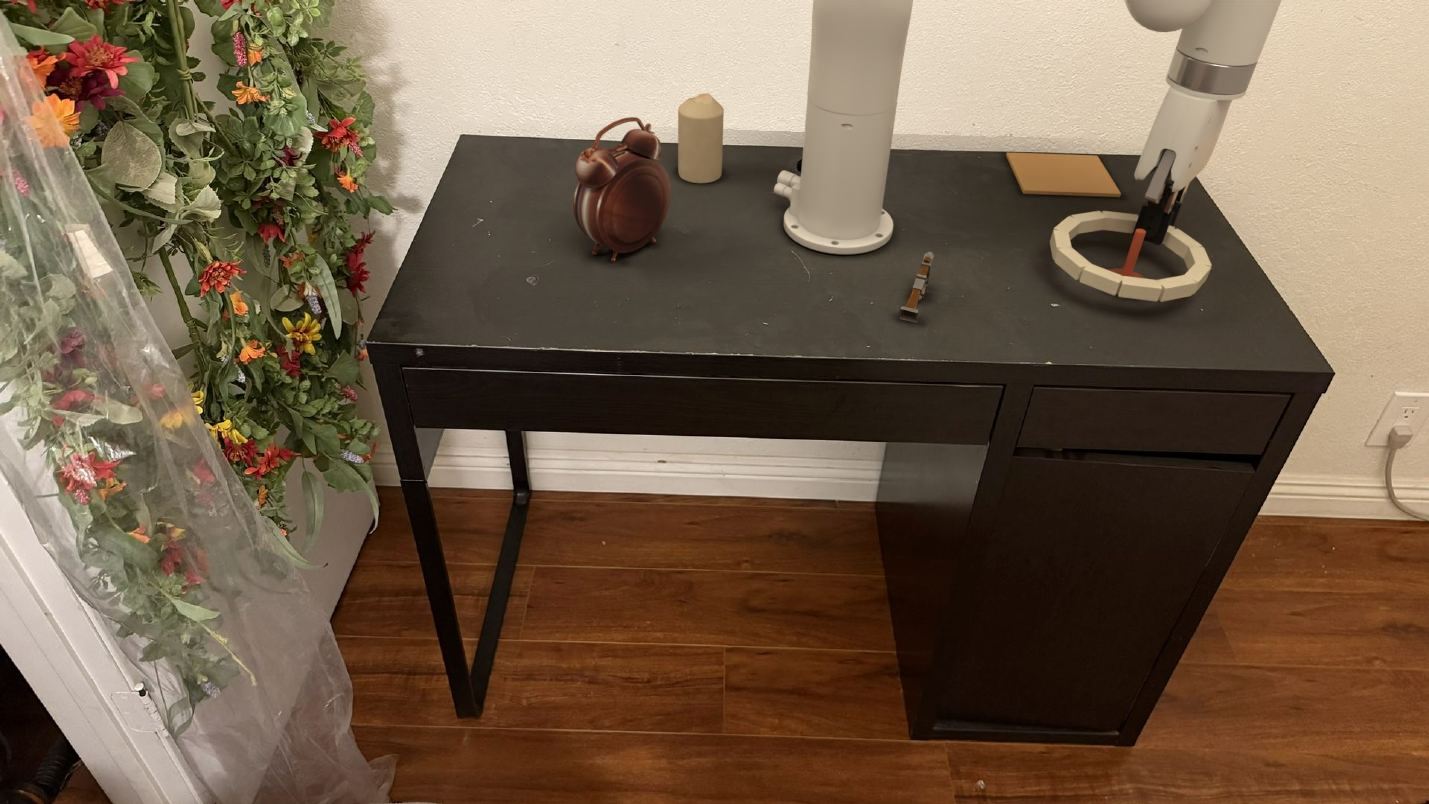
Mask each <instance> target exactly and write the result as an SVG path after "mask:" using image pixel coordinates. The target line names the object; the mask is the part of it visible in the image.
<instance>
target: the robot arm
mask: <svg viewBox="0 0 1429 804" xmlns="http://www.w3.org/2000/svg"><path fill="white" fill-rule="evenodd" d="M1123 2H1124V4H1125V6H1126V8H1127V10H1128V13H1129V15H1130V16H1131V17H1132V18H1133V20H1134V21H1135V22H1136V23H1137V24H1138V25H1140V26H1141V27H1143V28H1144V29H1147V30H1149V31H1152V32H1156V33H1170V32H1177V31H1179V30H1181V31H1180V34H1179V38H1178V40H1177V43H1176V46H1175V49H1174V52H1173V55H1172V58H1171V61H1170V64H1169V68H1168V70H1167V73H1166V76H1165V81H1166V84H1167V85H1169V89H1168V90H1167V93H1166V94H1165V96H1164V98H1163V101H1162V103H1161V105H1160V107H1159V109H1158V112H1157V114H1156V117H1155V119H1154V121H1153V123H1152V125H1151V129H1150V131H1149V134H1148V137H1147V139H1146V141H1145V143H1144V147H1143V149H1142V152H1141V155H1140V156H1139V160H1138V162H1137V165H1136V168H1135V171H1134V173H1133V176H1134V179H1135V180H1136V181H1138V182H1139V181H1144V180H1145V179H1146V178H1148V177H1149V175H1151V174H1152V176H1151V179H1150V182H1149V185H1148V189H1147V191H1146V192H1145V195H1144V199H1143V202H1142V205H1141V208H1140V211H1139V214H1138V220H1137V222H1136V225H1135V228H1134V231H1133V233H1132V236H1133V237H1134V234H1135V231H1136V229H1143V230H1145V231H1146V234H1145V237H1144V240H1143V242H1148V243H1150V244H1153V245H1155V246H1160V245H1162V244H1161V243H1162V242H1163V241H1164V238H1165V235H1166V232H1167V230H1168V227H1169V225H1170V226H1173V227H1175V224H1176V222H1177V219H1178V216H1179V214H1180V211H1181V209H1182V206H1183V203H1182V202H1183V199H1184V198H1185V196H1186V193H1187V190H1188V188H1189V185H1190V183H1191V182H1192V181H1193V180H1194V179H1195V178H1196V177H1197V176H1198V175H1199V174H1200V173H1201V172H1202V171H1203V170H1204V169H1205V167H1206V166H1207V164H1208V163H1209V161H1210V159H1211V157H1212V154H1213V153H1214V150H1215V148H1216V146H1217V143H1218V140H1219V137H1220V134H1221V133H1222V130H1223V127H1224V124H1225V121H1226V118H1227V116H1228V112H1229V110H1230V106H1231V104H1232V102H1233V100H1238V99H1241V98H1243V97H1244V96H1245V95H1246V93H1247V90H1248V88H1249V85H1250V82H1251V80H1252V77H1253V76H1254V72H1255V69H1256V67H1257V65H1258V62H1259V60H1260V57H1261V55H1262V51H1263V49H1264V46H1265V45H1266V41H1267V39H1268V37H1269V34H1270V31H1271V29H1272V26H1273V24H1274V22H1275V21H1274V20H1275V18H1276V17H1277V13H1278V11H1279V8H1280V5H1281V3H1282V0H1123ZM913 3H914V0H812V11H811V13H812V14H811V39H810V54H809V55H810V56H809V70H808V71H809V72H808V80H807V81H808V82H807V92H806V95H807V99H806V110H805V122H804V135H803V144H802V145H803V146H802V147H803V148H802V156H801V159H802V160H801V171H800V175H798V174H796V173H794V172H790V171H787V170H785V169H783V170H781V171H780V172H779V174H778V176H777V180H776V182H777V183H775V185H774V186H773V187H774V188H773V194H775V195H777V196H780V197H783V198H787V199H788V200H789V202H790V205H789V207H788V208H787V209H786V211H784V215H783V228H784V231H785V233H786V234H787V235H788V236H789V238H791V239H792V240H793V241H794V242H796V243H798V244H799V245H801V246H803V247H805V248H807V249H810V250H814V251H817V252H820V253H825V254H826V253H827V254H830V255H858V254H865V253H869V252H873V251H875V250H877V249H879V248H881V247H883V246H885V245H886V244H887V243H888V242H889V241H890V240H891V238H892V236H893V231H894V220H893V219H892V217H891V215H890V214H889V213H888V212H887V211H886V210H885V209H884V208H883V204H884V200H885V199H884V198H885V193H886V191H885V190H886V184H887V178H888V170H889V163H890V156H891V150H892V143H893V135H894V129H895V128H894V127H895V121H896V114H897V107H898V97H899V90H900V84H901V76H902V70H903V62H904V56H905V51H906V44H907V39H908V34H909V29H910V24H911V17H912V11H913Z"/></svg>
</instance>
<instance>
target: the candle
mask: <svg viewBox="0 0 1429 804" xmlns="http://www.w3.org/2000/svg"><path fill="white" fill-rule="evenodd" d="M724 113H725V109H724V107H723V106H722V104H720V102H718V100H716V99H715V98H714V97H713V96H712V95H711V94H710V93H709V92H707V93H705V92H704V93H700V94H698V95H696V96H693V97H689V98H688V99H685V100H684V101H683V102H682V103H681V104H679V106H678V108H677V123H678V124H677V127H678V128H677V138H678V139H677V168H678V169H677V170H678V171H677V172H678V176H679V177H680V178H681V179H682V180H684V181H685V182H689V183H694V184H708V183H713V182H715V181H717V180H719V179H721V177H722V173H723V149H724V148H723V146H724V116H725V115H724Z"/></svg>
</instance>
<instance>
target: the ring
mask: <svg viewBox="0 0 1429 804" xmlns="http://www.w3.org/2000/svg"><path fill="white" fill-rule="evenodd" d="M1138 217H1139V214H1136V213H1135V214H1134V213H1127V212H1117V211H1111V210H1110V211H1108V210H1102V211H1100V210H1094V211H1089V212H1082V213H1076V214H1071V215H1068V216H1067V217H1066V218H1064V219H1063V220H1061V221H1060V222H1059V224H1057V225H1056V226H1054V227H1053V230H1052V233H1051V236H1050V240H1049V245H1050V252H1051V257H1052V261H1053V262H1054V263H1055V264H1056V265H1057V266H1058V267H1059V268H1061V269H1062V270H1063V271H1064V272H1065V273H1067V274H1068V275H1069V276H1070V277H1071V278H1073V280H1075V281H1078V282H1079V283H1080V284H1083V285H1086V286H1088V287H1091V288H1094V289H1096V290H1099V291H1101V292H1104V293H1106V294H1109V295H1111V296H1114V297H1115V296H1118V297H1119V298H1125V299H1132V300H1141V301H1148V302H1158V301H1159V302H1161V303H1163V302H1168V301H1172V300H1173V301H1174V300H1178V299H1182V298H1189V297H1192V295H1195V294H1196V293H1197V292H1198V290H1199V289H1200V288H1201V287H1202V286H1203V285H1204V283H1205V282H1206V281H1207V279H1208V277H1209V275H1210V273H1211V269H1212V267H1213V265H1212V262H1211V260H1210V258H1209V256H1208V252H1207V251H1206V249H1205V247H1204V246H1203V244H1201V243H1199V241H1196V240H1195V239H1194V238H1192V237H1191V236H1190V235H1188V234H1187V233H1185V232H1184V231H1182V230H1181V229H1179V228H1176V227H1175V226H1174V227H1173V226H1170V225H1169V227H1168V230H1167V232H1166V235H1165V238H1164V241H1163V242H1162V243H1161V244H1160V245H1164V247H1166V248H1167V249H1168V250H1170V251H1172V252H1173V253H1175V255H1177V256H1179V257H1180V258H1181V259H1183V261H1184V264H1185V266H1186V268H1187V271H1186V273H1184V274H1182V275H1177V276H1171V277H1165V278H1160V279H1153V278H1151V279H1150V278H1146V279H1144V278H1145V277H1144V278H1136V277H1128V276H1122V275H1119V274H1117V273H1114V272H1111V271H1109V270H1108V269H1106V268H1104V267H1101V266H1098V265H1095V264H1093V263H1091V261H1089V260H1087V259H1086V258H1085V257H1084V256H1083V255H1082V254H1081V253H1079V252H1078V251H1077V250H1075V249H1074V248H1073V247H1072V242H1071V240H1073V239H1074V238H1075V237H1076V236H1077V235H1080V234H1085V233H1091V232H1092V233H1093V232H1098V231H1108V232H1117V233H1125V234H1133V231H1134V228H1135V225H1136V222H1137V220H1138ZM1117 293H1118V295H1116V294H1117Z"/></svg>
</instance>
